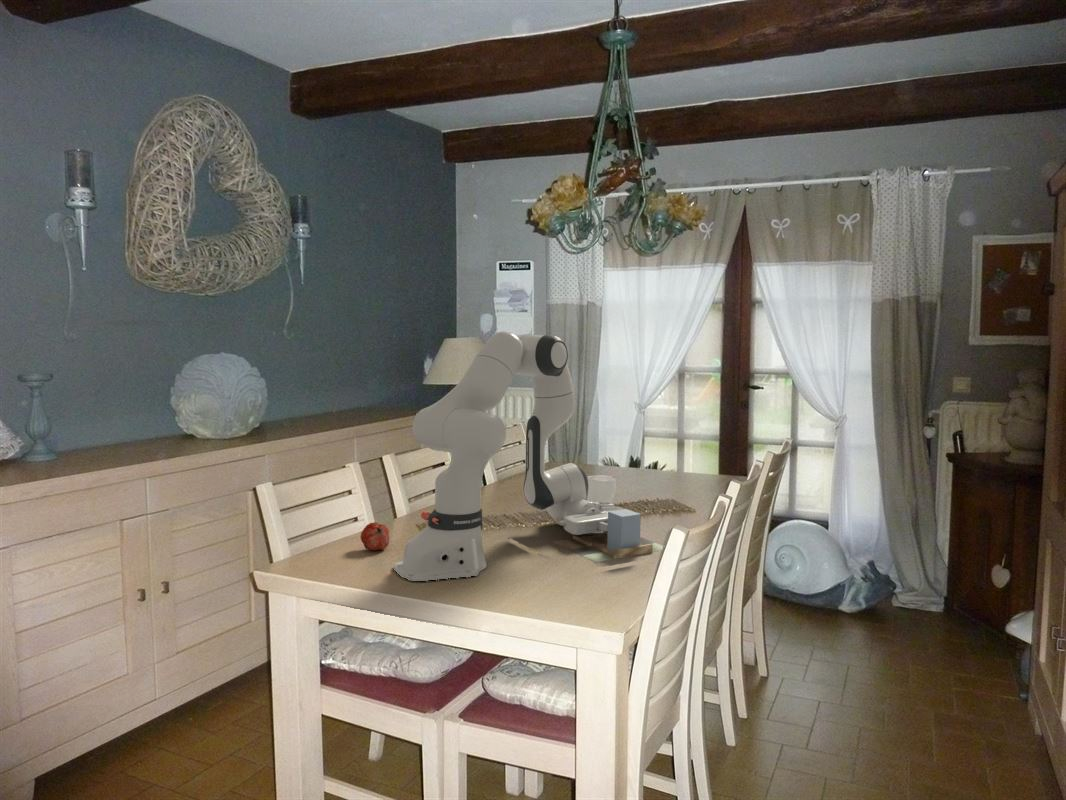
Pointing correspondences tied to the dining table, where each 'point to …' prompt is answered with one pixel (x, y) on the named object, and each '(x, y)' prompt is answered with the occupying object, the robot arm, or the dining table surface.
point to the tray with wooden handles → (605, 547)
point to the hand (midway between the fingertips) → (616, 528)
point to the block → (623, 529)
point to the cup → (601, 488)
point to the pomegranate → (375, 536)
